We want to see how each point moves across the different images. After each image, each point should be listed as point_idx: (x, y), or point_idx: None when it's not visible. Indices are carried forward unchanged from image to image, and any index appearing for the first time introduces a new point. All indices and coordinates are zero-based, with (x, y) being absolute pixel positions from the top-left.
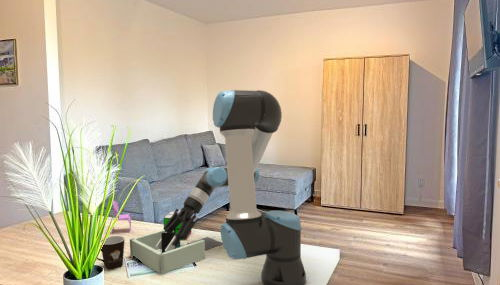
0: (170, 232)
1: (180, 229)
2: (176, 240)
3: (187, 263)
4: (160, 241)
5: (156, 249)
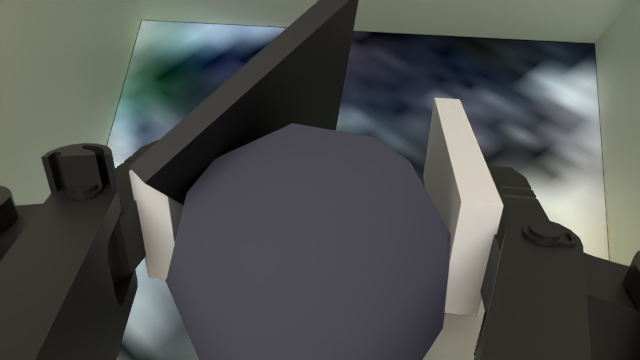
0: (215, 105)
1: (17, 277)
2: (115, 170)
3: None
4: (439, 127)
5: None
